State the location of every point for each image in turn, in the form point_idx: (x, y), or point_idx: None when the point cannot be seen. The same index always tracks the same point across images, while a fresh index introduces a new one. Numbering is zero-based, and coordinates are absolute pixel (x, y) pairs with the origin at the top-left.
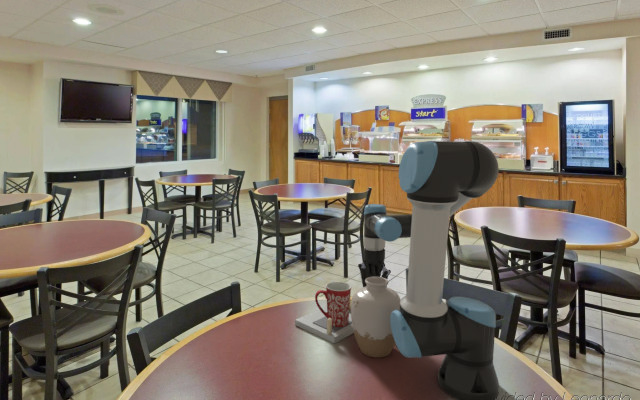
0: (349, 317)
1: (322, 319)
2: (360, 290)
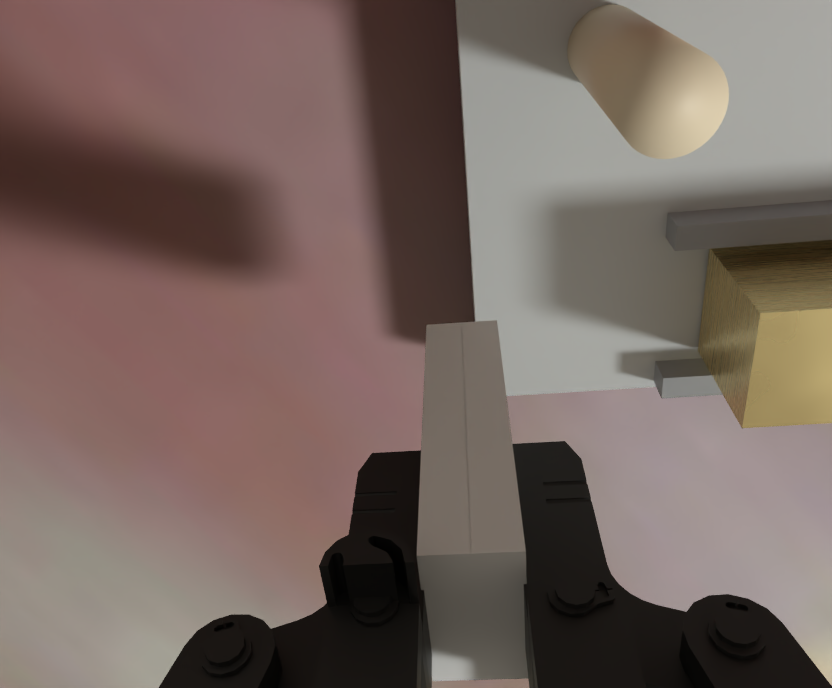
0: (757, 58)
1: None
2: None
